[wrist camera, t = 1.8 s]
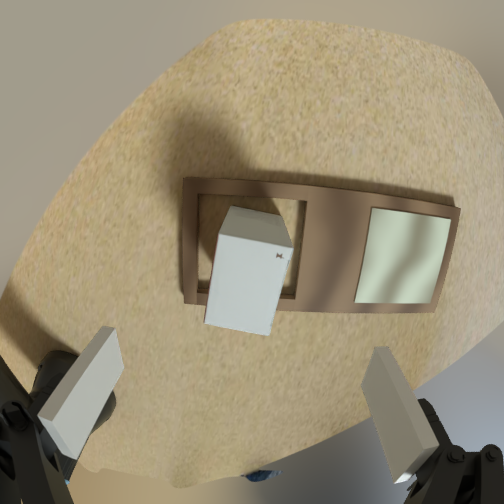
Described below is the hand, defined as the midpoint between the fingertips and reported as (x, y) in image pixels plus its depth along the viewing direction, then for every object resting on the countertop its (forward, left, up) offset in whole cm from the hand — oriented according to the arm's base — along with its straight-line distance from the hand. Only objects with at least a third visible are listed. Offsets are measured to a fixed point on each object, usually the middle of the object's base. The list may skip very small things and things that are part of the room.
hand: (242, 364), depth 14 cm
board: (+9, 0, -19) cm, 21 cm away
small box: (0, 0, -19) cm, 19 cm away
